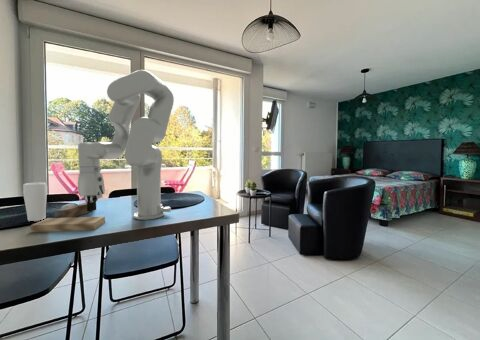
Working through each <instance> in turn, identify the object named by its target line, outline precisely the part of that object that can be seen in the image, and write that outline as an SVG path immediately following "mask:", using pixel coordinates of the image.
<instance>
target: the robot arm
mask: <svg viewBox="0 0 480 340" xmlns="http://www.w3.org/2000/svg"><path fill="white" fill-rule="evenodd" d="M106 93H107V94H106V95H107V97H108V98H109V100H111V101H112V102H113V105H112V107H111V109H110V112H109V114H108V115H107V119H108V121H109V122H110V123H111V124H112V126H113V128H114V134H113V137H112V140H111V142H109V141H97V142H89V141H88V142H86V141H85V142H84V141H83V142H79V143H78V146H77V149H78V151H77V153H78V167H79V169H78V170H79V171H78V172H79V173H78V177H77V178H78V179H77V191H78V195H79V197H80V198H81V199H83V200H85V201H84V202H87V211H91V212H94V210H95V211H97V202H98V200H99V199H102V198H103V195H104V194H105V191H106V190H105V189H106V188H105V183H104V182H105V181H104V176H103V173H102V172H101V171H102V168H101V167H100V166H101V165H100V164H101V161H100V160H115V159H119V158H120V157H121V156H122V155H124V159H125V162H126V163H127V164H128V165H129V166H130V167H132V168H136V169H137V175H136V197H137V199H136V200H137V206H136V207H137V211H136V212H134V214H133V218H134V219H136V220H140V221H141V220H143V221H147V220H157V219H159V218H162V217H164V216H165V213H171V212H172V207H170V206H163V203H162V199H161V196H162V195H161V180H162V179H161V175H162V173H161V171H162V162H163V154H162V151H161V150H160V149H159V147H158V146H156V145H153V143H161V142H162V141H163V140H164V139H165V137H166V134H167V133H166V132H167V129H168V125H169V121H170V117H171V113H172V110H173V106H174V101H175V97H174V93H173V91H172V90H171V88H170V87H169V86H168V85H167V84H166V83H165V82H164V81H162V79H160V78H159V77H157V76H156V75H154V73H152V72H150V71H148V70H145V69H140V70H139V69H138V70H136V71H135V70H134V71H133V72H130V73H128V74H126V75H123V76H121V77H119V78H117V79H115V80H113V81H112V82H111V83H110V84H109V85H108V86H107V89H106ZM142 94H144V95H146V96H147V97H150V98H152V99H153V102H151V103H152V104H151V105H150V107H149V109H148V113H147V116H142V117H139V118H136V120H135V121H133V123H132V124H131V122H132V120H133V119H134V116H135V114H136V111H137V109H138V107H139V105H140V102H141V100H142V99H141V98H142V97H141V95H142ZM130 124H131V127H130Z"/></svg>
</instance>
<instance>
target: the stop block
mask: <svg viewBox="0 0 480 340" xmlns="http://www.w3.org/2000/svg"><path fill="white" fill-rule="evenodd" d="M75 205H76V204H75V203H72V202H71V203H67V204H64V205H61V209H64V208H68V207H71V206H75Z"/></svg>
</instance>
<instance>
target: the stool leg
mask: <svg viewBox="0 0 480 340" xmlns="http://www.w3.org/2000/svg"><path fill="white" fill-rule="evenodd" d="M94 211H96V210H94ZM94 211H93V212H94ZM53 212H54V218H71V217H79V216H81V215H86V214H88V213H91V212H92V211H87V202H86V201H84V202H83V203H79V204H75V206H71V207H68V208H64V209H62V208H61V209H59V208H58V209H55V210H53Z"/></svg>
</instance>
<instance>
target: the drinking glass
mask: <svg viewBox="0 0 480 340" xmlns="http://www.w3.org/2000/svg"><path fill="white" fill-rule="evenodd" d="M47 187H48V186H47V182H45V181H44V182H43V181H42V182H40V181H38V182H28V183H23V185H22V192H23V199H24V204H25V211H26V216H27V221H28V222H30V221H34V222H40V220H41V221H42V220H43V219H47V218H46V217H47V213H46V212H47V211H46V209H47V197H48V196H47V194H48V192H47V191H48V188H47Z"/></svg>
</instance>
